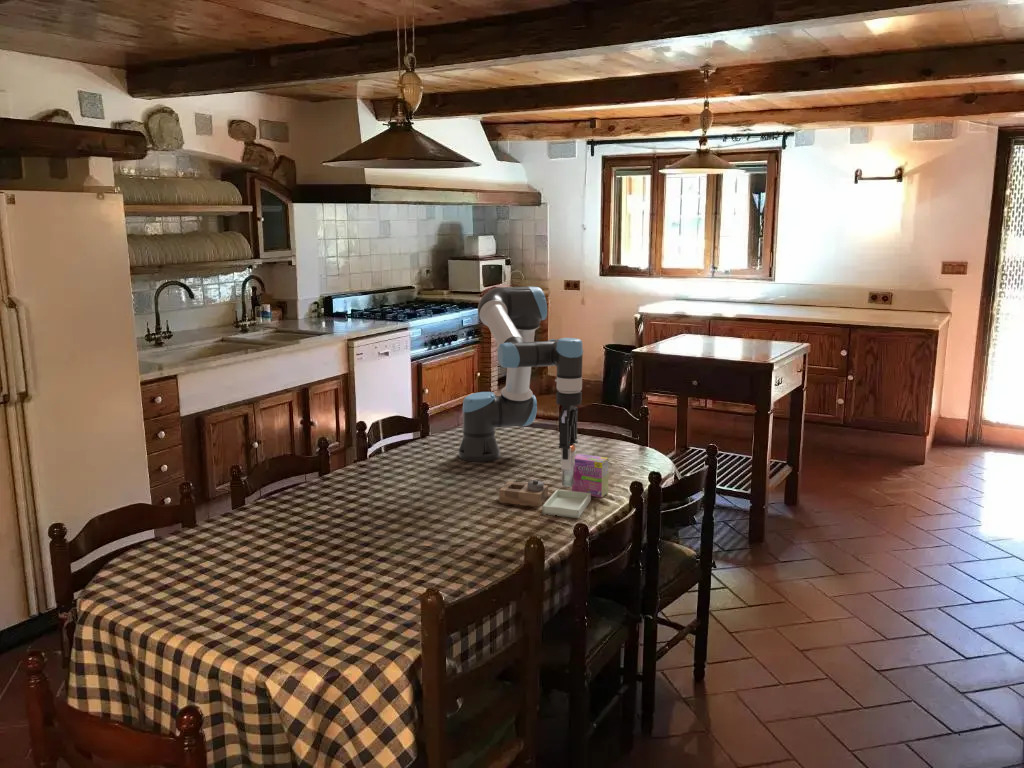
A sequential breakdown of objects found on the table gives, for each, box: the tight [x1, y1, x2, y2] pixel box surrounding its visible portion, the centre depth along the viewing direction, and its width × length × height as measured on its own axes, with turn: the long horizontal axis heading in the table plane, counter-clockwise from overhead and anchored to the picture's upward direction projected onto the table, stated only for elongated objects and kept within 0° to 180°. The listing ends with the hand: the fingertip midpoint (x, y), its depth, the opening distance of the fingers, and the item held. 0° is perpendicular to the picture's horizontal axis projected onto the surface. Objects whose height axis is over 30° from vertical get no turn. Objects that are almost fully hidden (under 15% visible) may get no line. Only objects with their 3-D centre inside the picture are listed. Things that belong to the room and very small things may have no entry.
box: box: [571, 453, 610, 498], centre depth 261 cm, size 10×6×12 cm, turn 62°
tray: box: [541, 489, 592, 519], centre depth 249 cm, size 16×11×2 cm
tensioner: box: [498, 479, 549, 508], centre depth 255 cm, size 9×13×7 cm
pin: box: [561, 444, 576, 488], centre depth 246 cm, size 4×4×12 cm
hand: (567, 466), depth 246 cm, fingers closed on pin, 4 cm apart
